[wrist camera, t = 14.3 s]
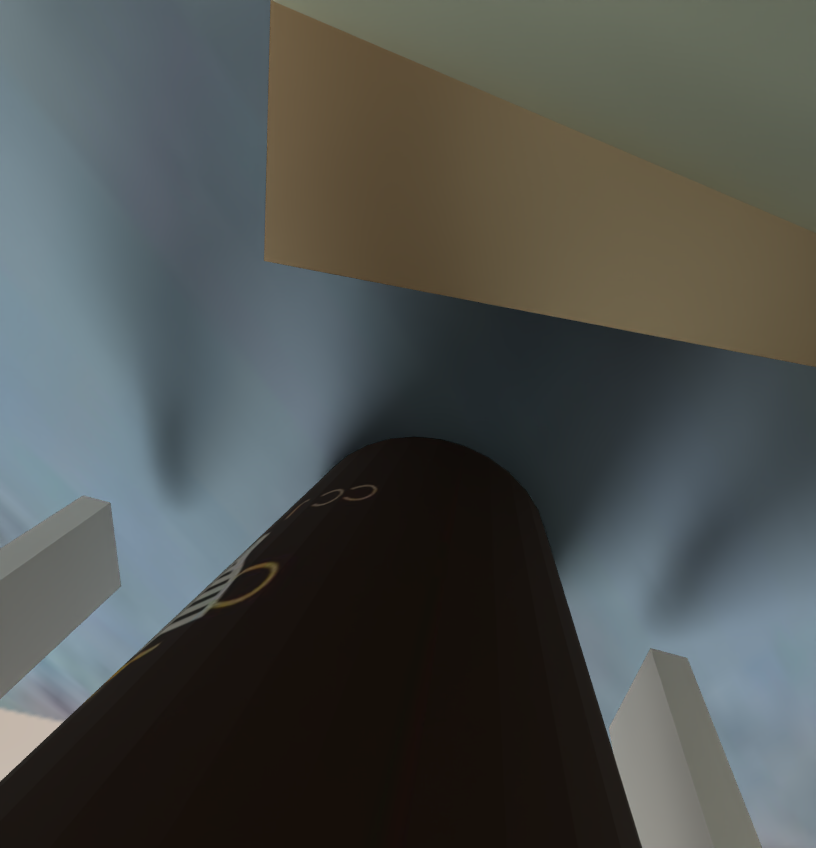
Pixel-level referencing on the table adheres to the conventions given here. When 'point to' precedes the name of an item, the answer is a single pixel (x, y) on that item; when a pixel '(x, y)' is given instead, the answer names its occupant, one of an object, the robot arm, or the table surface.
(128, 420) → the table surface
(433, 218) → the oak block
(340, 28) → the sage brick
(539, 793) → the coffee mug
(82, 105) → the table surface
